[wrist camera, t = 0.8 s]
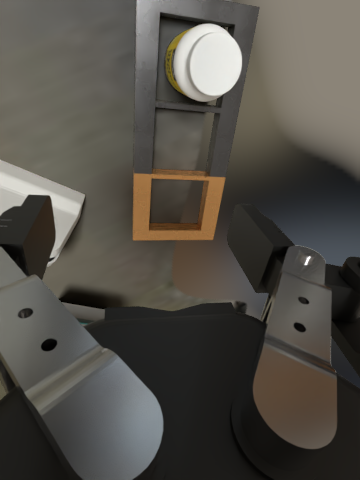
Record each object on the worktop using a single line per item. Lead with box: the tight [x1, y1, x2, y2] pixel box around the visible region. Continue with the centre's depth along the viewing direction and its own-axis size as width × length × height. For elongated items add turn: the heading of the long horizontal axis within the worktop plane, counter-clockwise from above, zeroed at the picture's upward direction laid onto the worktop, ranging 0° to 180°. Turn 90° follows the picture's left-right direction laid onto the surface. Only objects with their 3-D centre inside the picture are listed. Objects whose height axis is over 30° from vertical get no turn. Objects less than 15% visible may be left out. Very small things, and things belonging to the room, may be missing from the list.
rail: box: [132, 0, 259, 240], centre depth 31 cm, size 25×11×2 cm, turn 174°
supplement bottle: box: [164, 24, 242, 102], centre depth 24 cm, size 5×5×10 cm
